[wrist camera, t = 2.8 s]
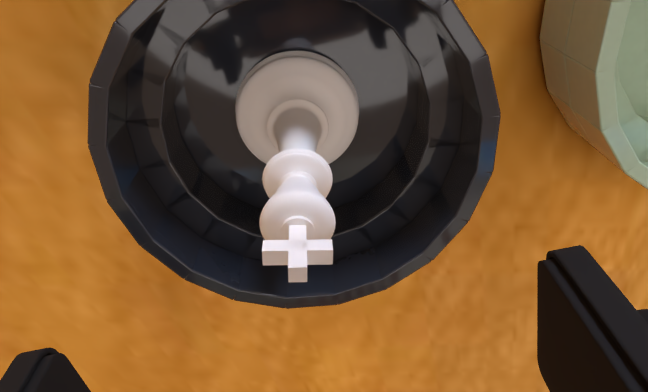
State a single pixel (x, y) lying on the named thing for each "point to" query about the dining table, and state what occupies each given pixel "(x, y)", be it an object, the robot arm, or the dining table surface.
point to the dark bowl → (247, 170)
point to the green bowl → (601, 75)
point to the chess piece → (297, 151)
